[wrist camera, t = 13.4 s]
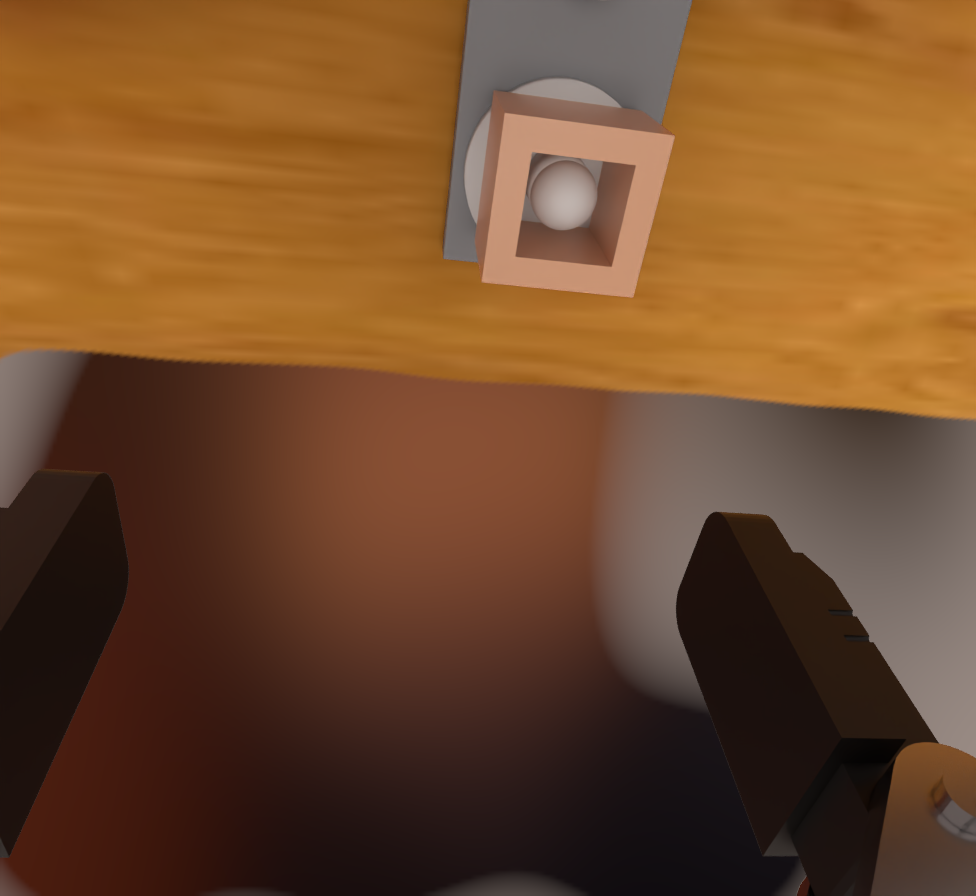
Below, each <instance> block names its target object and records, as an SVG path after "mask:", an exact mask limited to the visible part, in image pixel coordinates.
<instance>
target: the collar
mask: <svg viewBox="0 0 976 896" xmlns="http://www.w3.org/2000/svg"><path fill="white" fill-rule="evenodd" d="M674 138H675V135H674V134H672V133H671V132H670V131H668V130H667V129H666V128H664V127H663V126H662V125H660V124H659V123H658V122H656V121H655V120H654V119H652V118H651V117H650V116H648V115H647V114H646V113H644V112H643V111H641V110H634V109H626V108H619V107H612V106H605V105H597V104H590V103H583V102H576V101H568V100H561V99H554V98H547V97H539V96H532V95H525V94H518V93H510V92H503V91H496V90H494V92H493V100H492V107H491V115H490V123H489V131H488V139H487V147H486V155H485V163H484V171H483V179H482V186H481V194H480V202H479V210H478V218H477V226H476V234H475V247H476V253H477V258H478V264H479V270H480V275H481V281H482V282H484V283H494V284H504V285H514V286H524V287H534V288H543V289H553V290H563V291H573V292H583V293H593V294H602V295H612V296H622V297H632V298H633V296H634V292H635V288H636V284H637V280H638V276H639V273H640V269H641V265H642V261H643V257H644V253H645V250H646V246H647V242H648V238H649V234H650V230H651V227H652V223H653V219H654V215H655V211H656V207H657V204H658V200H659V196H660V192H661V188H662V184H663V180H664V177H665V173H666V169H667V165H668V161H669V157H670V154H671V150H672V146H673V142H674ZM532 152H535V153H543V154H551V155H559V156H567V157H574V158H582V159H590V160H598V161H603V164H602V169H601V174H600V178H599V183H598V188H597V202H596V206H595V208H594V211H593V212H592V216H591V221H590V225H589V228H583V227H576V228H574V229H570V230H555V229H552V228H549V227H547V226H546V225H544V224H543V223H540V222H531V221H522V220H521V218H522V212H523V205H524V199H525V193H526V187H527V180H528V174H529V168H530V162H531V155H532Z"/></svg>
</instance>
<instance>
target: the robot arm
mask: <svg viewBox="0 0 976 896" xmlns="http://www.w3.org/2000/svg"><path fill="white" fill-rule="evenodd" d="M128 577H129V565H128V557H127V552H126V547H125V542H124V537H123V532H122V526H121V521H120V515H119V510H118V504H117V500H116V494H115V489H114V484H113V482H112V479H111V477H110V476H109V475H108V474H107V473H101V472H84V471H68V470H51V469H41V470H38V471H37V472H36V473H34V474H33V476H32V477H31V478H30V479H29V481H28V482H27V483H26V485H25V486H24V488H23V489H22V490H21V492H20V493H19V494H18V496H17V497H16V498H15V500H14V501H13V503H12V504H11V505H10V506H9V508H0V857H10V854H11V852H12V850H13V848H14V845H15V843H16V841H17V838H18V837H19V834H20V832H21V830H22V828H23V825H24V823H25V821H26V819H27V817H28V815H29V812H30V810H31V808H32V806H33V804H34V801H35V799H36V797H37V795H38V793H39V790H40V788H41V786H42V784H43V782H44V779H45V777H46V775H47V773H48V771H49V768H50V766H51V764H52V762H53V760H54V757H55V755H56V753H57V751H58V749H59V746H60V744H61V742H62V740H63V738H64V735H65V733H66V731H67V729H68V727H69V724H70V722H71V720H72V718H73V716H74V713H75V711H76V709H77V706H78V705H79V702H80V700H81V698H82V696H83V694H84V691H85V689H86V687H87V685H88V682H89V680H90V678H91V676H92V674H93V672H94V669H95V667H96V665H97V663H98V660H99V658H100V656H101V654H102V652H103V650H104V647H105V645H106V643H107V641H108V639H109V636H110V634H111V632H112V630H113V628H114V625H115V623H116V621H117V619H118V616H119V614H120V612H121V610H122V607H123V604H124V601H125V597H126V593H127V587H128ZM852 611H853V610H852V608H851V607H850V605H849V604H848V602H847V601H846V599H845V598H844V597H843V595H842V593H841V591H840V590H839V588H838V587H837V585H836V584H835V582H834V581H833V579H832V578H830V577H829V576H828V575H827V574H826V573H825V572H824V571H822V570H821V569H820V568H819V567H818V566H817V565H816V564H815V563H813V562H812V561H811V560H810V559H809V558H808V557H806V556H805V555H804V554H803V553H794V552H792V550H791V548H790V547H789V545H788V543H787V542H786V540H785V538H784V537H783V535H782V533H781V532H780V530H779V529H778V527H777V525H776V524H775V522H774V521H773V520H772V519H771V518H770V517H769V516H767V515H759V514H743V513H727V512H713V513H712V514H710V515H709V516H708V518H707V519H706V521H705V523H704V525H703V528H702V530H701V533H700V535H699V538H698V541H697V544H696V546H695V548H694V551H693V553H692V556H691V559H690V561H689V564H688V566H687V569H686V571H685V574H684V577H683V580H682V582H681V584H680V587H679V590H678V594H677V602H676V618H677V625H678V629H679V633H680V636H681V638H682V640H683V644H684V646H685V649H686V652H687V654H688V657H689V660H690V662H691V665H692V668H693V670H694V673H695V676H696V678H697V681H698V684H699V686H700V689H701V692H702V694H703V697H704V700H705V703H706V705H707V708H708V710H709V713H710V716H711V719H712V721H713V724H714V727H715V729H716V732H717V735H718V737H719V740H720V742H721V745H722V748H723V751H724V753H725V756H726V759H727V761H728V764H729V767H730V770H731V772H732V775H733V778H734V780H735V783H736V786H737V788H738V791H739V794H740V796H741V799H742V801H743V804H744V807H745V810H746V812H747V815H748V818H749V820H750V823H751V826H752V828H753V831H754V833H755V837H756V839H757V842H758V845H759V847H760V850H761V853H762V855H763V856H799V858H800V861H801V863H802V866H803V868H804V871H805V873H806V875H807V876H806V878H805V879H804V880H803V882H802V883H801V884H800V887H799V889H798V892H797V895H796V896H976V758H975V757H973V756H971V755H969V754H967V753H965V752H963V751H961V750H959V749H956V748H953V747H950V746H947V745H943V744H939V743H938V741H937V740H936V738H935V737H934V735H933V734H932V732H931V731H930V729H929V727H928V726H927V724H926V723H925V721H924V720H923V719H922V717H921V715H920V713H919V712H918V710H917V709H916V707H915V706H914V704H913V703H912V701H911V700H910V698H909V696H908V695H907V693H906V692H905V690H904V689H903V687H902V686H901V684H900V683H899V681H898V680H897V678H896V676H895V675H894V673H893V672H892V670H891V669H890V667H889V666H888V664H887V662H886V661H885V659H884V658H883V656H882V655H881V653H880V652H879V650H878V649H877V647H876V645H875V644H874V643H873V642H869V635H868V633H867V632H866V630H865V628H864V627H863V625H862V624H861V622H860V621H859V619H858V618H857V617H855V616H853V615H852Z"/></svg>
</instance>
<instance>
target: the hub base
mask: <svg viewBox="0 0 976 896" xmlns="http://www.w3.org/2000/svg"><path fill="white" fill-rule="evenodd" d="M691 3H692V0H468V5H467V15H466V24H465V34H464V44H463V54H462V63H461V73H460V83H459V93H458V103H457V112H456V122H455V132H454V142H453V151H452V161H451V171H450V181H449V190H448V200H447V210H446V220H445V230H444V239H443V259H450V260H460V261H469V262H478V258H477V253H476V247H475V234H476V226H477V218H478V210H479V202H480V194H481V186H482V179H483V171H484V163H485V155H486V147H487V139H488V131H489V123H490V115H491V107H492V100H493V92H494V90H496V91H503V92H510V93H518V94H525V95H532V96H539V97H547V98H554V99H561V100H568V101H576V102H583V103H590V104H597V105H605V106H612V107H619V108H626V109H634V110H641V111H643V112H644V113H646V114H647V115H648V116H650V117H651V118H652V119H654V120H655V121H656V122H658V123H659V124H660V125H661V123H662V119H663V115H664V111H665V107H666V103H667V99H668V95H669V91H670V87H671V83H672V79H673V75H674V71H675V67H676V63H677V59H678V55H679V51H680V47H681V43H682V39H683V35H684V31H685V27H686V23H687V19H688V15H689V11H690V7H691ZM602 164H603V161H598V160H590V159H582V158H574V157H567V156H559V155H551V154H543V153H535V152H532V155H531V162H530V168H529V174H528V180H527V187H526V193H525V199H524V205H523V212H522V218H521V220H522V221H531V222H540V223H543V224H544V225H546V226H547V227H549V228H552V229H555V230H570V229H574V228H576V227H583V228H589V225H590V221H591V216H592V212H593V211H594V208H595V206H596V202H597V188H598V183H599V178H600V174H601V169H602Z"/></svg>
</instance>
